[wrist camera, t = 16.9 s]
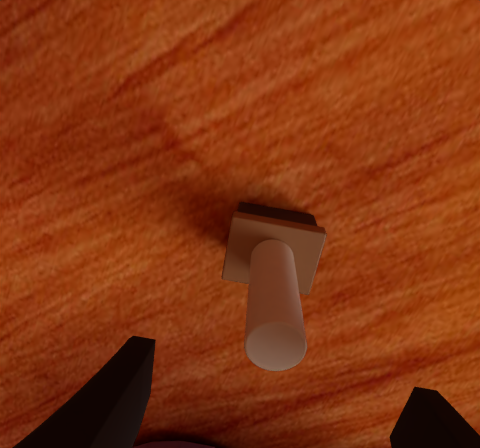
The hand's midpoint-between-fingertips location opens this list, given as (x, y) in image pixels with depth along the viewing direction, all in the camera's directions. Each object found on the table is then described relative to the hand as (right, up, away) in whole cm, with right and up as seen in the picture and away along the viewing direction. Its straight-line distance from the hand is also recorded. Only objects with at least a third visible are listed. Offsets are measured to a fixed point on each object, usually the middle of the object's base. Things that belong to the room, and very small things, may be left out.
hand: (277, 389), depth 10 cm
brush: (+1, +4, +10) cm, 10 cm away
